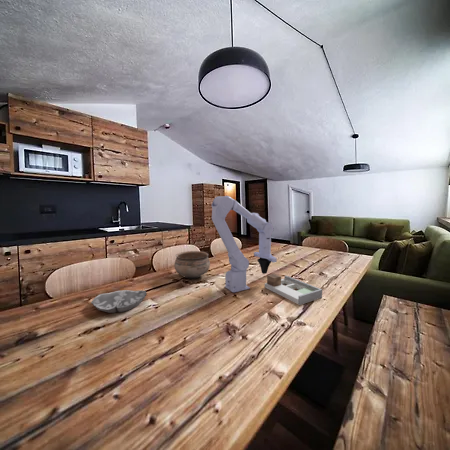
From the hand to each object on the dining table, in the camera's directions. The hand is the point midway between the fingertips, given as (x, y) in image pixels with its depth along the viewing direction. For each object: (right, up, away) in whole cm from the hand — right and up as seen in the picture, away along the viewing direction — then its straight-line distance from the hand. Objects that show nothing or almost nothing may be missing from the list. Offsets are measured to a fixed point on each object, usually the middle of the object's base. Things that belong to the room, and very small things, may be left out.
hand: (264, 273), depth 108 cm
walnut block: (+3, -4, -6) cm, 8 cm away
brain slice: (-61, -8, -23) cm, 65 cm away
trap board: (+10, -6, -10) cm, 15 cm away
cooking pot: (-37, -4, +10) cm, 39 cm away
